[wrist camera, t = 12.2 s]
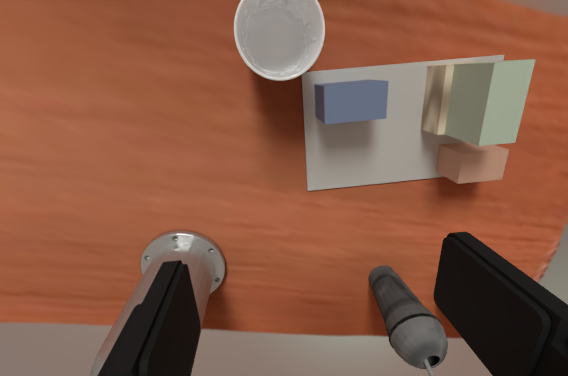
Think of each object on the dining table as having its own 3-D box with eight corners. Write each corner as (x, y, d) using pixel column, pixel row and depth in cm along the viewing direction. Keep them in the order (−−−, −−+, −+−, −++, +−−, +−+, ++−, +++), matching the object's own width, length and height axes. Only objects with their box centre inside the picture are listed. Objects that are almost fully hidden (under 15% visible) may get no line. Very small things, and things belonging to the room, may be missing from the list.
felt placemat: (479, 172, 42) (480, 173, 42) (307, 190, 41) (307, 190, 41) (503, 54, 36) (504, 54, 36) (301, 72, 35) (301, 72, 35)
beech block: (462, 124, 39) (484, 130, 35) (420, 129, 39) (437, 135, 35) (473, 61, 36) (497, 60, 32) (427, 65, 36) (446, 65, 32)
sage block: (475, 131, 35) (515, 142, 30) (444, 134, 35) (478, 146, 29) (488, 61, 32) (535, 59, 27) (454, 64, 32) (494, 62, 26)
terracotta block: (475, 167, 42) (501, 179, 37) (435, 171, 41) (457, 183, 37) (480, 140, 40) (508, 149, 35) (439, 144, 40) (462, 154, 35)
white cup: (321, 42, 34) (343, 31, 25) (275, 92, 36) (280, 99, 26) (273, -13, 31) (278, -49, 22) (227, 43, 33) (214, 32, 24)
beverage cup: (404, 287, 50) (488, 413, 31) (364, 297, 50) (424, 429, 31) (400, 254, 47) (490, 372, 28) (357, 265, 47) (419, 389, 29)
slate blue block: (368, 79, 36) (388, 80, 30) (367, 111, 37) (386, 118, 32) (314, 84, 35) (324, 86, 30) (315, 116, 37) (324, 124, 31)
